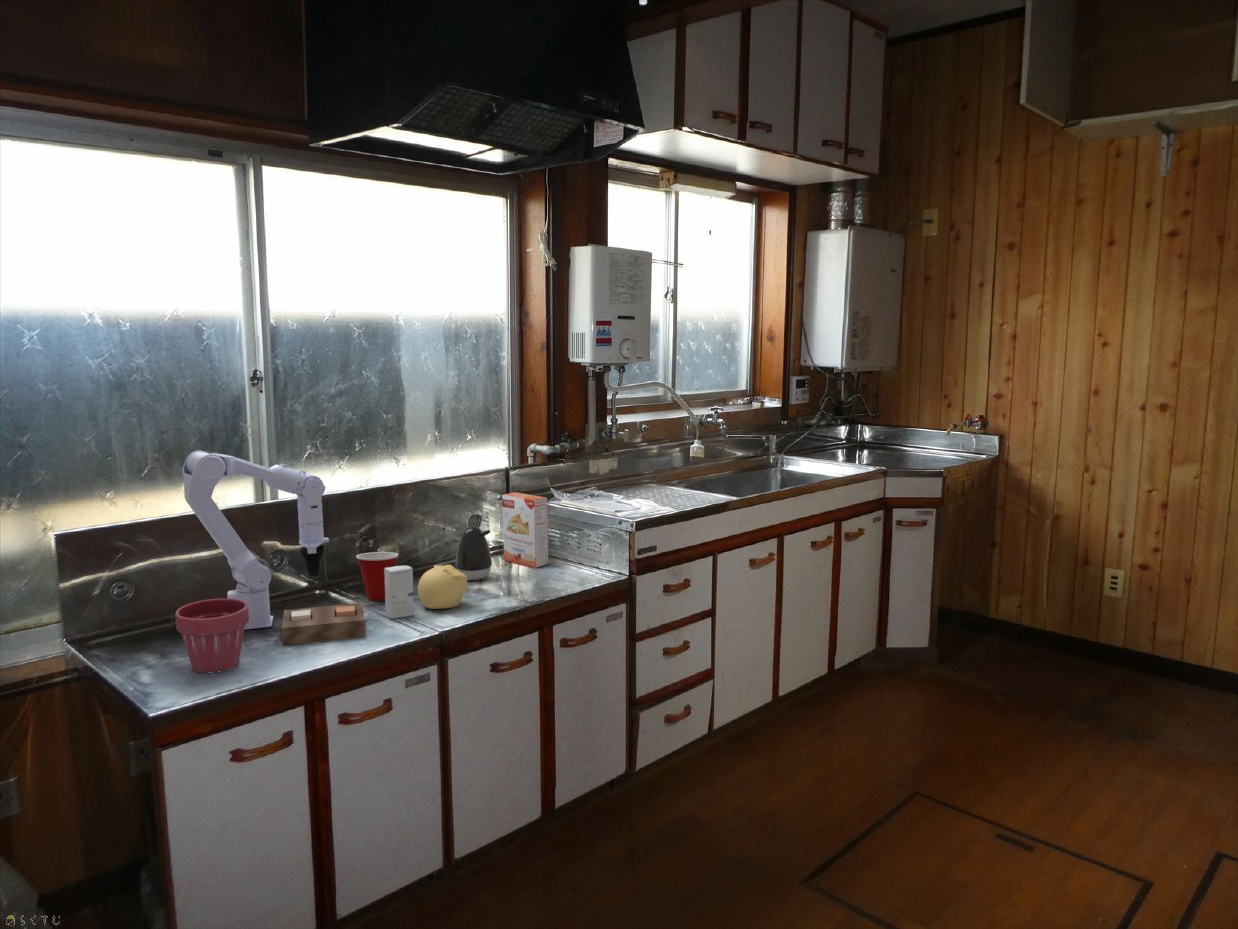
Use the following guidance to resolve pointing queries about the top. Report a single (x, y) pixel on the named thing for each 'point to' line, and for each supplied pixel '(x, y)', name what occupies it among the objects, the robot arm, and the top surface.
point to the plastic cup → (375, 572)
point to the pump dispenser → (473, 554)
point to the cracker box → (525, 529)
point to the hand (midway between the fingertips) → (313, 575)
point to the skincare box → (399, 591)
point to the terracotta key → (345, 611)
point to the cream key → (301, 615)
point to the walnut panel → (323, 625)
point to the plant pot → (213, 632)
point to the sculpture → (442, 587)
